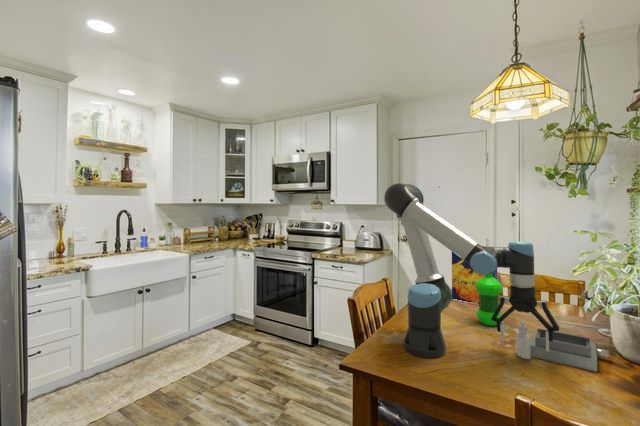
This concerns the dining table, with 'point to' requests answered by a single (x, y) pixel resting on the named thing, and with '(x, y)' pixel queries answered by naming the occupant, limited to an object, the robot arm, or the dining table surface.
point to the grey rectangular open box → (566, 350)
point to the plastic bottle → (488, 298)
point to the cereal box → (465, 280)
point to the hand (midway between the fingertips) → (524, 345)
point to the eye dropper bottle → (523, 342)
